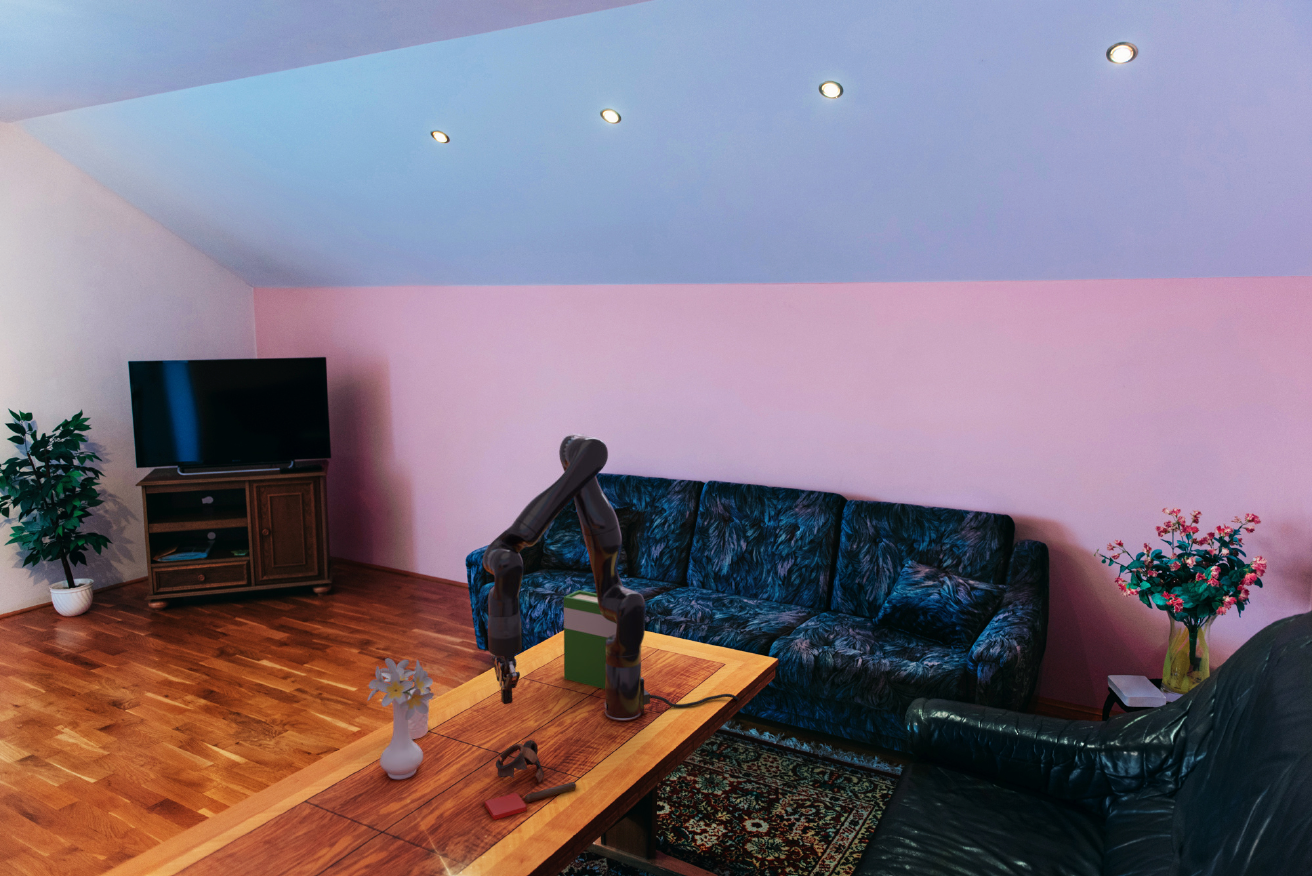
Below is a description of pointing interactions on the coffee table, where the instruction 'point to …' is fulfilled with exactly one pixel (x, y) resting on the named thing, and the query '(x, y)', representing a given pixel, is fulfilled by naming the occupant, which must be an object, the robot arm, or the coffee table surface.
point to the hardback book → (585, 639)
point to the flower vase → (402, 714)
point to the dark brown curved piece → (520, 760)
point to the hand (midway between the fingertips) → (506, 702)
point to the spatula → (515, 804)
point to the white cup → (418, 722)
